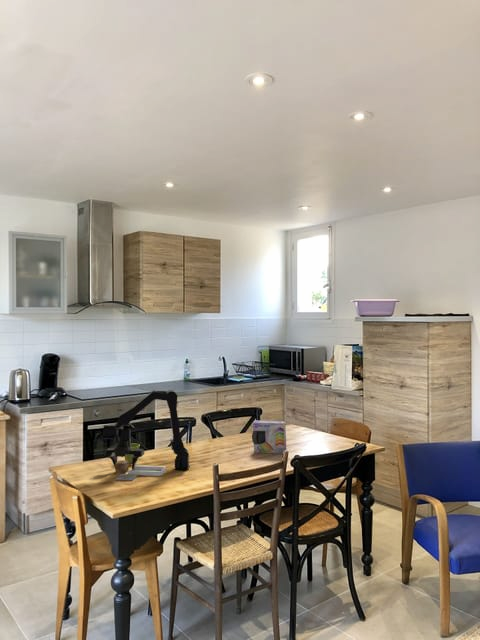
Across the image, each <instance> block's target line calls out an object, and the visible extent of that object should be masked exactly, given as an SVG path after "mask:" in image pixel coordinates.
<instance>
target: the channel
mask: <svg viewBox="0 0 480 640" xmlns="http://www.w3.org/2000/svg"><path fill="white" fill-rule="evenodd" d="M166 472H167V466H165V465H163V466H161V465H160V466H159V465H135V467H134V470H132V469H131V470H130V469H129V470H128V472H127V474H135V475H138V476H148V477H149V476H153V477H154V476H155V477H162V476H163V475H164V474H165V473H166Z"/></svg>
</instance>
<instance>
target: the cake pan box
mask: <svg viewBox="0 0 480 640" xmlns="http://www.w3.org/2000/svg"><path fill="white" fill-rule="evenodd" d="M252 426H253V427H252V428H253V429H252V433H251V440H252V442H253V443H252V444H253V452H254V453H258V452H259V453H260V454H261V453H263V454H280V455H281V454H283V451H284V450H287V434H286V433H287V432H286V421H278V420H277V421H276V420H257V419H255V420H254V421H253V422H252ZM259 453H258V454H259ZM283 455H284V454H283Z"/></svg>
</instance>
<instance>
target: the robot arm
mask: <svg viewBox="0 0 480 640" xmlns="http://www.w3.org/2000/svg"><path fill="white" fill-rule="evenodd" d="M154 400H160V401H164V402H165V401H166V403H167V406H168V409H169V410H168V411H169V416H170V424H171V430H172V439H169V440H170V448H171V450H172V451H173V453H174V454H175V455H176V456H175V459H174V470H175V471H189V468H190V467H191V465H190V453H189V450H188V449H187V448H186V447H185V446H184V441H183V438H182V436H181V431H180V423H179V415H178V409H177V407H178V394H177V392H176V391H175V390H173V389H169V390H166V391H165V390H155V389H153V390H151V391H150V393H148V394H147V395H146V396H144V397H143V398H142V399H141V400H139V401H138V402H137V403H136V404H135V405H133V406H132V407H130V408H128V409H126V410H124V411H123V412H121V413H120V414H119V415H118V419H117V421H116V422H115V424H111V425H108V424H104V425H103V431H102V439H103V440H112V439H113V440H115V439H116V438H117V437H118V441H117V445H116V446H115V447H108V448H107V449H105V450H104V457H107V458H108V459H110V460H111V461H112V464H113V466H114V468H115V463H116V462H118V457H120V458H125V454H133V455H134V456H133V457H132V460H133V461H132V463H131V470H134V467H135V466H136V464H137V462H138V459H140V458H141V457H143V456H144V455H145V449H144V448H139V449H135V450H134V451H133V450H131V447H130V444H131V441H132V439H131V430H134V429H135V426H134V425H132V423H131V421H132V420H133V419H134V418H135V417H136V415H137V414H139V413H140V412H141V411H143V409H145V408H146V407H147V406H149V405H150V404H151V403H152V402H153V401H154Z"/></svg>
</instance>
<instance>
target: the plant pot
mask: <svg viewBox="0 0 480 640" xmlns="http://www.w3.org/2000/svg"><path fill="white" fill-rule="evenodd" d="M140 446H141V444H139V443H134V442H133V443H132V442H130V447H131V450H133V451H134V450H135V449H140ZM133 456H134V455H133V454H125V456H124V461H128V464H132V461H133V460H132V457H133Z"/></svg>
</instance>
